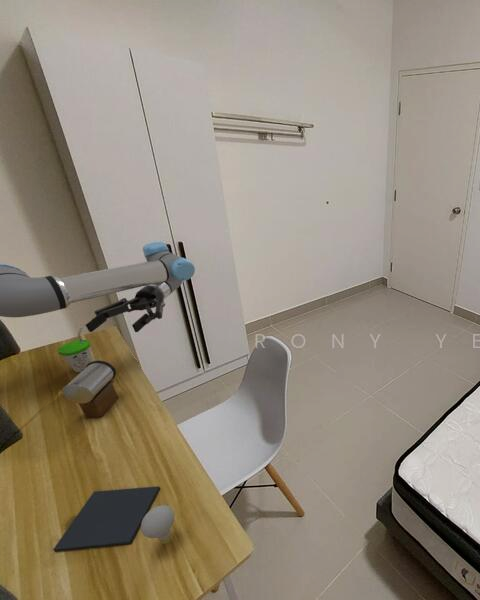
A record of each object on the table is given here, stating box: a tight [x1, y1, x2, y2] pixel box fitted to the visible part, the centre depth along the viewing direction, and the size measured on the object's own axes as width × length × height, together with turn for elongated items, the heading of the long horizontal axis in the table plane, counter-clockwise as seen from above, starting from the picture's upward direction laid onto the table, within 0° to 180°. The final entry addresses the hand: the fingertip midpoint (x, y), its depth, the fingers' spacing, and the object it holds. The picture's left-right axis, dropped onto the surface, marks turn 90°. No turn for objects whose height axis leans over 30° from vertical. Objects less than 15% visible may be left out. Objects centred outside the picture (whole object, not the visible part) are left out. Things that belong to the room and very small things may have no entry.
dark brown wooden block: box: [78, 379, 119, 419], centre depth 97 cm, size 5×8×7 cm, turn 8°
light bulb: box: [140, 504, 175, 545], centre depth 67 cm, size 5×6×10 cm
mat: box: [52, 485, 161, 553], centre depth 72 cm, size 14×12×1 cm
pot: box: [62, 360, 118, 404], centre depth 94 cm, size 8×10×8 cm
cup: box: [57, 327, 94, 375], centre depth 109 cm, size 8×8×15 cm
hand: (111, 328), depth 101 cm, fingers open, 13 cm apart
